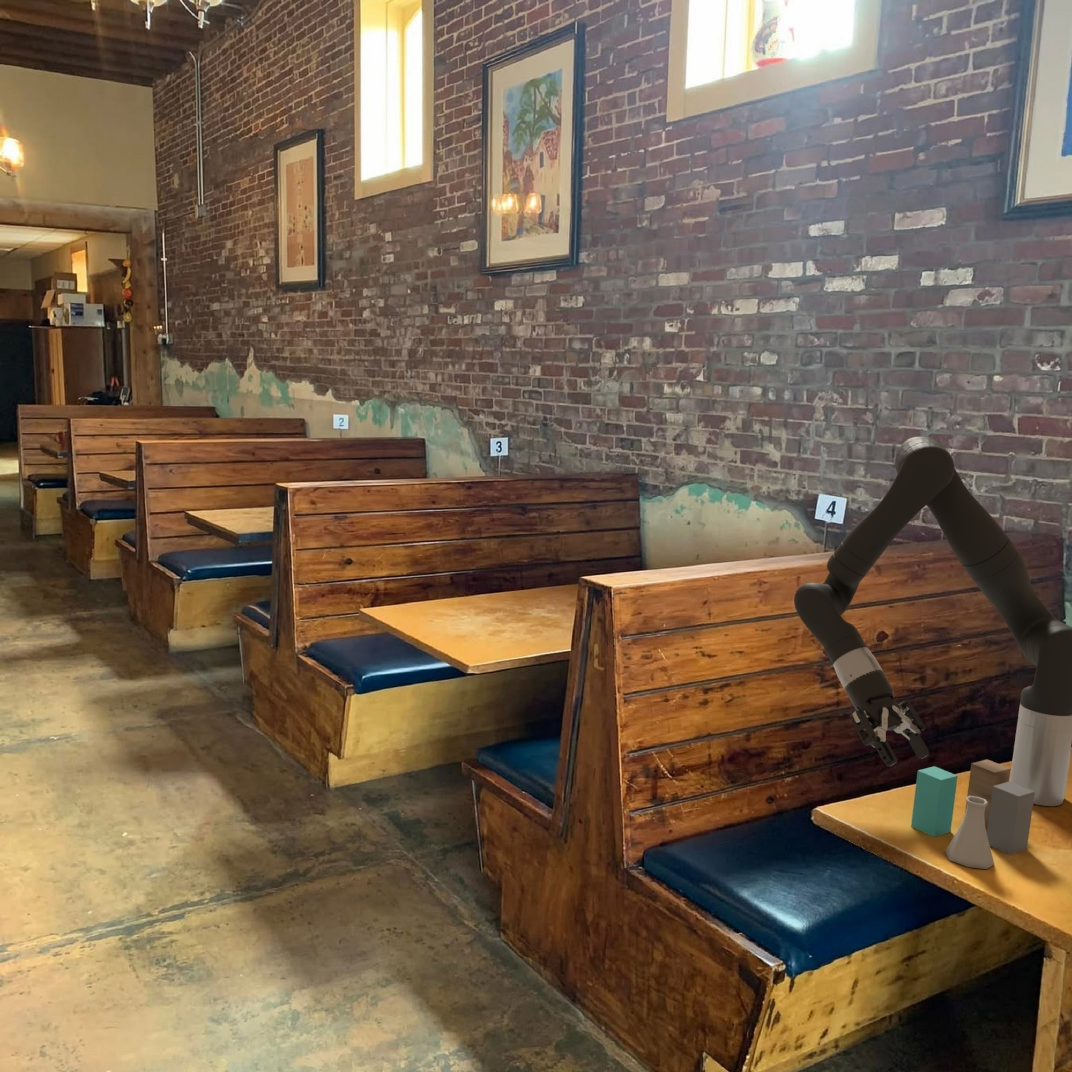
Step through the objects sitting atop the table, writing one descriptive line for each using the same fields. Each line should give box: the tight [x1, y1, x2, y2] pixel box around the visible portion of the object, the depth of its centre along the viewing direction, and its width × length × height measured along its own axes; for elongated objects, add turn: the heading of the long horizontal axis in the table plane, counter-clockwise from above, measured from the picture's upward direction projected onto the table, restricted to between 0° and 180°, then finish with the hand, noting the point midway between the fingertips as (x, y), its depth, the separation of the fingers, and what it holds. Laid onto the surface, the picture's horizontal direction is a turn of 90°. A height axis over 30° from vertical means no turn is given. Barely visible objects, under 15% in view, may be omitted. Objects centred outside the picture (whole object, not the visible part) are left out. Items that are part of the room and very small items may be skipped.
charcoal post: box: [986, 781, 1035, 856], centre depth 163 cm, size 4×4×10 cm
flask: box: [944, 796, 995, 870], centre depth 157 cm, size 7×7×10 cm
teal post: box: [910, 765, 959, 838], centre depth 168 cm, size 4×4×10 cm
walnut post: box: [964, 759, 1011, 828], centre depth 173 cm, size 4×4×10 cm
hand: (909, 760), depth 172 cm, fingers open, 8 cm apart
